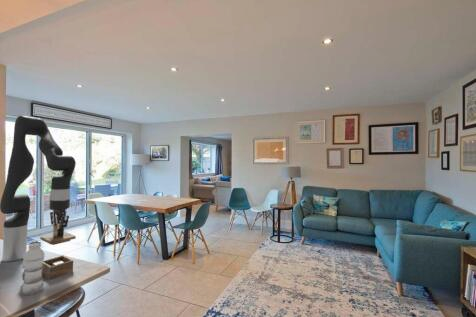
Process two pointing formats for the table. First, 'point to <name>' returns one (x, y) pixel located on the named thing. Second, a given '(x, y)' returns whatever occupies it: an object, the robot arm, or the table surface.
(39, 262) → the plastic bottle
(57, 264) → the cube offwhite
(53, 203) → the robot arm
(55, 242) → the lid
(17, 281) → the table surface
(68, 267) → the box
